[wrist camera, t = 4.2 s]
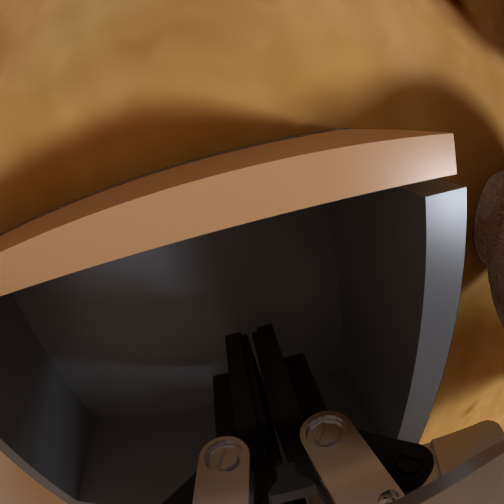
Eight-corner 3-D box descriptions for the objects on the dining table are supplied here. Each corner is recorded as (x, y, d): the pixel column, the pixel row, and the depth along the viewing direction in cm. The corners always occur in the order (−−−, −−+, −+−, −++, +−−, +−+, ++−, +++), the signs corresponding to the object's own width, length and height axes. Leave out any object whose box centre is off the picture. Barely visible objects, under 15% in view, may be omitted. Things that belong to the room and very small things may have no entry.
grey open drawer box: (336, 128, 10) (492, 135, 4) (359, 369, 15) (418, 472, 8) (-33, 252, 10) (-123, 326, 3) (74, 424, 14) (51, 515, 8)
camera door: (337, 100, 9) (444, 81, 4) (347, 152, 9) (456, 174, 5) (-36, 230, 8) (-113, 281, 3) (-22, 267, 9) (-92, 329, 4)
